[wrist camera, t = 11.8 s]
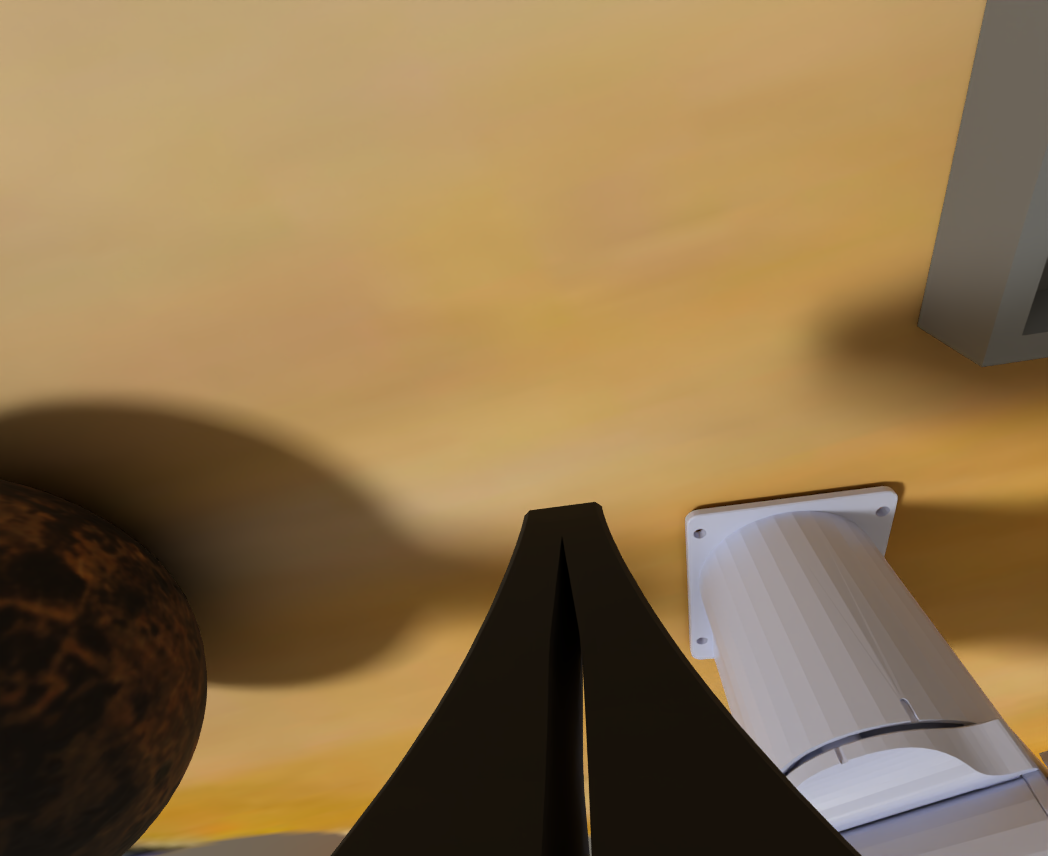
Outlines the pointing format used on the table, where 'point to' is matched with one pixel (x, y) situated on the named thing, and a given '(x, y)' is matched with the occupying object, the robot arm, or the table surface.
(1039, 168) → the rack
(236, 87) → the table surface
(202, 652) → the dark brown vase
